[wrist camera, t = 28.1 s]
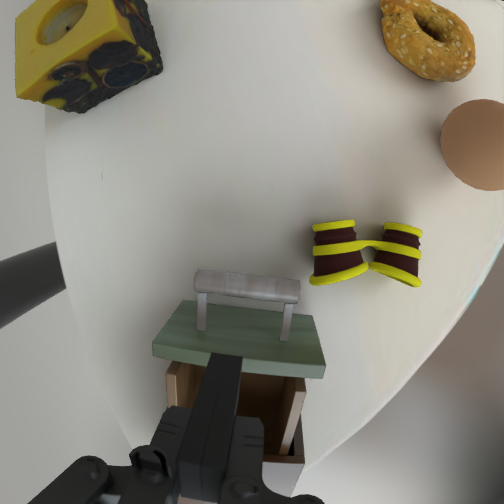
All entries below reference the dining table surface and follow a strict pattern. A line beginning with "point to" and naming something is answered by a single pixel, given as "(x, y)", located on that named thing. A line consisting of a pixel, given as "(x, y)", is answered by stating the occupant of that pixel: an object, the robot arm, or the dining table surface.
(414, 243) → the opera glasses
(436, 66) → the bagel
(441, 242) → the dining table surface
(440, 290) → the dining table surface
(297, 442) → the cabinet
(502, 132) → the egg
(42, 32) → the candle
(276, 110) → the dining table surface
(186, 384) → the drawer
